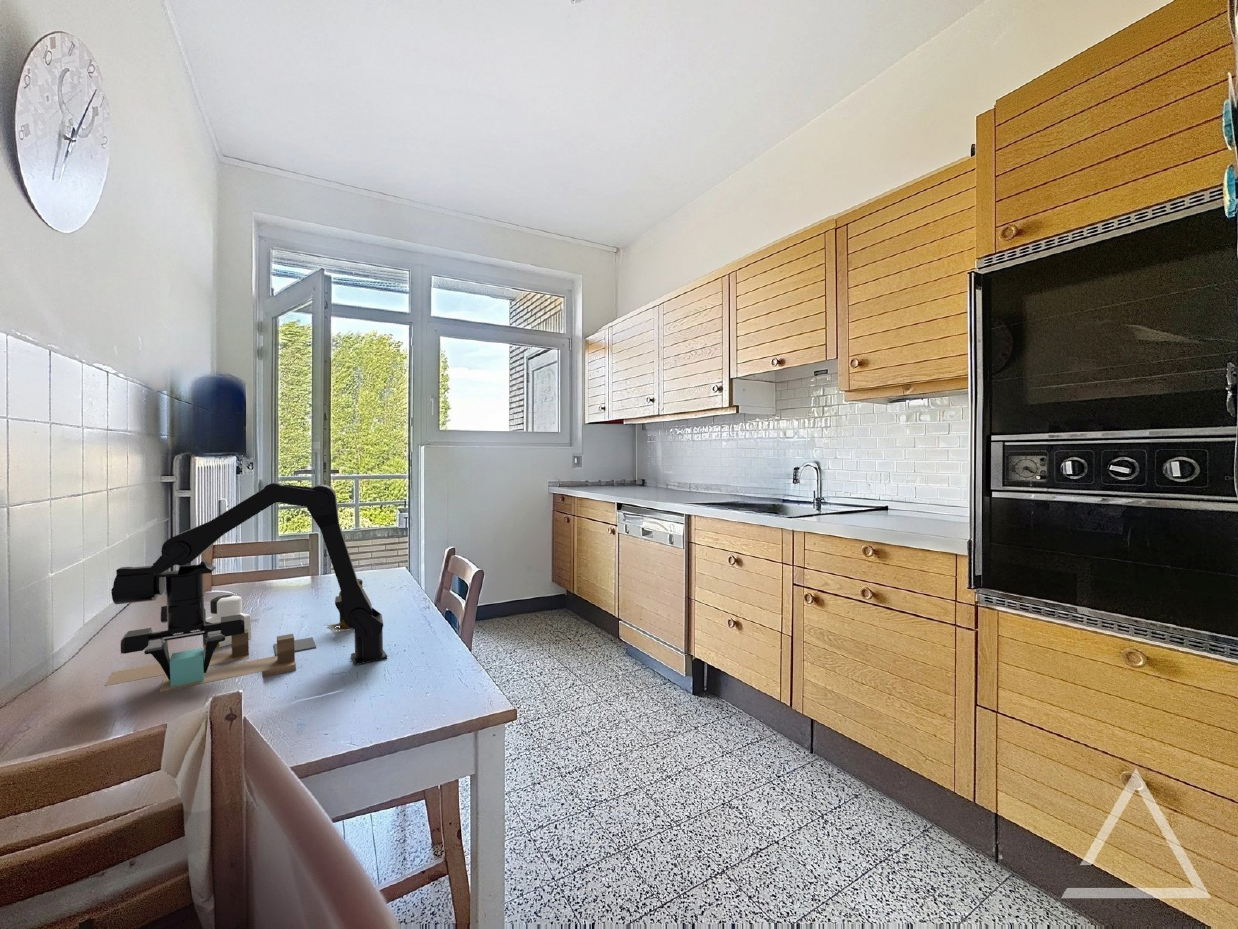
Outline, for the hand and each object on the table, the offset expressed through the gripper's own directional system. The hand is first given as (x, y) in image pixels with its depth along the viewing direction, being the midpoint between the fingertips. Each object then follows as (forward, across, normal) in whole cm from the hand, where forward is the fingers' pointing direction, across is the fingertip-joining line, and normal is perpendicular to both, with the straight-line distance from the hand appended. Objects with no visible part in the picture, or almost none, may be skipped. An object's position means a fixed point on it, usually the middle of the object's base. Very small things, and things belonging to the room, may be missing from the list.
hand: (188, 675), depth 107 cm
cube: (+1, 0, 0) cm, 1 cm away
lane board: (+2, +5, -5) cm, 8 cm away
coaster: (+2, -19, -12) cm, 23 cm away
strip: (+2, -7, 0) cm, 7 cm away
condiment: (+2, -32, -22) cm, 39 cm away
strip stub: (+2, -6, -10) cm, 12 cm away
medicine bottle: (+2, -6, -23) cm, 24 cm away
